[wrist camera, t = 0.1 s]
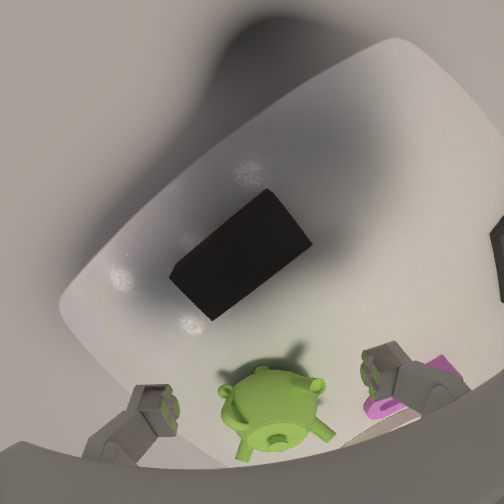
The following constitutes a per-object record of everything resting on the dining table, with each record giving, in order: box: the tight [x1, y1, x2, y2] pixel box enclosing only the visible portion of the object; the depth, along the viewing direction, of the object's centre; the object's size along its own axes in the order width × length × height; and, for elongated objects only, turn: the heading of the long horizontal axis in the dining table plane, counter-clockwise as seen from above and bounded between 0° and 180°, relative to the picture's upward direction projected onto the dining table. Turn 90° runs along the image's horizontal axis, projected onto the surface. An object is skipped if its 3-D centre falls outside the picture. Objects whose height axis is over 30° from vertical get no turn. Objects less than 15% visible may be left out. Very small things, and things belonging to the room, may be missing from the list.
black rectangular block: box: [169, 189, 313, 321], centre depth 22 cm, size 10×5×3 cm, turn 129°
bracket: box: [364, 355, 463, 419], centre depth 28 cm, size 13×6×7 cm, turn 110°
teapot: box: [218, 366, 336, 462], centre depth 25 cm, size 11×12×8 cm
